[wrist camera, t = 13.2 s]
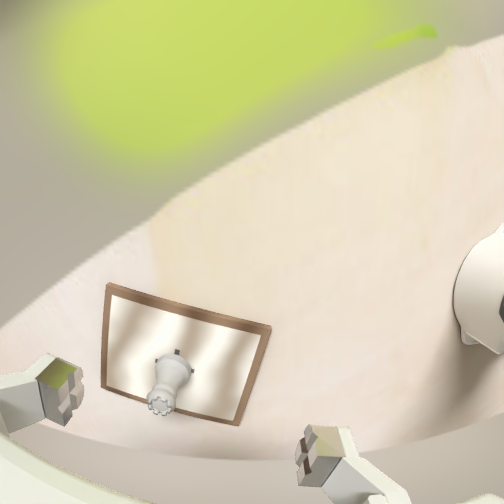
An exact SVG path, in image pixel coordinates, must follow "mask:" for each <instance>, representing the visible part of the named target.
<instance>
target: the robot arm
mask: <svg viewBox="0 0 504 504" xmlns="http://www.w3.org/2000/svg"><path fill="white" fill-rule="evenodd" d="M454 310H455V314H456V317H457V319H458V321H459V323H460V326H461V340H462V342H463V343H464V344H466V345H473V344H480V343H481V344H483V345H484V346H486V347H487V348H489V349H490V350H492V351H493V352H495V353H496V354H499V355H500V354H502V353H504V223H502V224H501V225H500V226H499V227H498V229H497V230H496V231H495V233H494V234H492V235H491V236H489V237H487V238H485V239H483V240H481V241H480V242H479V243H478V244H477V245H476V246H475V247H474V248H473V249H472V250H471V251H470V253H469V254H468V256H467V257H466V259H465V260H464V262H463V264H462V266H461V269H460V271H459V274H458V277H457V280H456V285H455V290H454ZM82 378H83V371H82V369H81V368H80V367H78V366H76V365H74V364H71V363H69V362H67V361H65V360H63V359H61V358H58V357H56V356H54V355H52V354H50V353H45V354H44V355H43V356H42V357H40V358H39V359H38V360H37V361H36V362H35V363H34V364H33V365H32V366H31V367H29V368H28V369H27V370H26V371H25V372H24V373H22V372H21V371H20V372H15V373H10V374H5V375H0V504H154V503H151V502H148V501H144V500H141V499H138V498H135V497H132V496H129V495H126V494H123V493H120V492H118V491H115V490H112V489H109V488H107V487H104V486H102V485H99V484H97V483H94V482H92V481H90V480H87V479H85V478H83V477H80V476H78V475H76V474H74V473H72V472H70V471H67V470H65V469H63V468H61V467H59V466H57V465H55V464H53V463H51V462H49V461H48V460H46V459H44V458H42V457H40V456H38V455H37V454H35V453H33V452H32V451H30V450H28V449H26V448H25V447H23V446H21V445H20V444H18V443H17V442H15V441H13V440H12V439H11V438H10V436H9V434H10V433H12V432H15V431H17V430H19V429H22V428H24V427H27V426H29V425H32V424H34V423H36V422H39V421H41V420H43V419H45V418H47V419H49V420H51V421H54V422H56V423H58V424H60V425H62V426H64V427H65V425H66V424H67V423H68V421H69V420H70V418H71V417H72V410H74V409H77V408H78V407H79V406H80V404H81V402H82V400H83V397H84V386H83V384H82V382H81V381H80V380H81V379H82ZM304 435H305V437H304V438H302V439H301V440H300V441H299V443H298V445H297V448H296V452H295V461H296V464H297V465H298V466H299V467H300V468H299V469H298V471H297V477H298V485H299V486H309V487H321V489H322V490H323V491H324V493H325V494H326V495H327V496H328V497H329V499H330V500H331V501H332V502H333V503H334V504H412V503H411V501H410V499H409V496H408V494H407V491H406V490H405V489H403V488H402V487H401V486H399V485H398V484H397V483H395V482H394V481H393V480H391V479H390V478H389V477H387V476H386V475H385V474H384V473H382V472H381V471H380V470H378V469H377V468H376V467H375V466H373V465H372V464H371V463H370V462H368V461H367V460H366V459H364V458H360V456H359V453H358V450H357V448H356V445H355V442H354V439H353V436H352V433H351V431H350V429H349V428H348V427H336V426H335V427H333V426H319V425H308V426H307V427H306V429H305V431H304ZM455 504H504V499H502V498H500V497H498V496H496V495H494V494H491V493H487V494H484V495H480V496H477V497H475V498H471V499H468V500H465V501H462V502H459V503H455Z"/></svg>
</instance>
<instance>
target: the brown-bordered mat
mask: <svg viewBox="0 0 504 504" xmlns="http://www.w3.org/2000/svg"><path fill="white" fill-rule="evenodd" d="M271 330H272V329H271V326H270V325H265V324H261V323H256V322H252V321H248V320H244V319H239V318H235V317H231V316H227V315H223V314H219V313H215V312H211V311H207V310H203V309H200V308H196V307H192V306H188V305H185V304H181V303H177V302H174V301H170V300H166V299H163V298H159V297H156V296H152V295H149V294H146V293H142V292H139V291H136V290H132V289H129V288H126V287H122V286H119V285H116V284H113V283H110V282H109V283H108V284H107V285H106V290H105V301H104V312H103V327H102V347H101V388H104V389H106V390H109V391H112V392H114V393H117V394H120V395H123V396H126V397H129V398H132V399H135V400H138V401H141V402H144V403H147V404H148V402H147V398H146V396H147V394H148V393H149V392H150V391H152V388H153V386H154V385H156V382H157V378H156V375H155V366H156V363H157V361H158V359H159V358H160V357H161V356H163V355H165V354H176V355H179V356H181V357H183V358H184V359H185V360H186V361H187V362H188V363H189V365H190V367H191V376H190V377H189V380H188V382H187V383H186V384H185V385H183V386H182V387H180V388H178V390H177V392H176V393H177V398H176V399H175V401H176V407H175V409H174V410H173V411H175V412H179V413H182V414H186V415H190V416H194V417H198V418H203V419H207V420H211V421H216V422H221V423H226V424H231V425H236V426H239V423H240V420H241V418H242V415H243V412H244V409H245V406H246V404H247V401H248V398H249V395H250V392H251V389H252V387H253V384H254V381H255V378H256V375H257V372H258V369H259V366H260V363H261V360H262V357H263V354H264V351H265V348H266V345H267V342H268V339H269V336H270V333H271Z"/></svg>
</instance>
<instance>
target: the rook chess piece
mask: <svg viewBox="0 0 504 504" xmlns="http://www.w3.org/2000/svg"><path fill="white" fill-rule="evenodd" d="M155 375H156V378H157V382H156V385H154V386H153V388H152V391H150V392H149V393H148V394H147V396H146V398H147V402H148V404H149V405H148V408H149V410H152V409H153V410H154V412H153V413H154V414H156V415H158V412H159V413H162V416H166V414H167V413H170V412H171V411H173V410H174V409H175V407H176V401H175V399H176V398H177V393H176V392H177V390H178V388H180V387H182V386H183V385H185V384H186V383H187V382H188V380H189V377H190V376H191V367H190V365H189V363H188V362H187V361H186V360H185V359H184V358H183V357H181V356H179V355H176V354H165V355H163V356H161V357H160V358H159V359H158V361H157V363H156V366H155Z"/></svg>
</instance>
